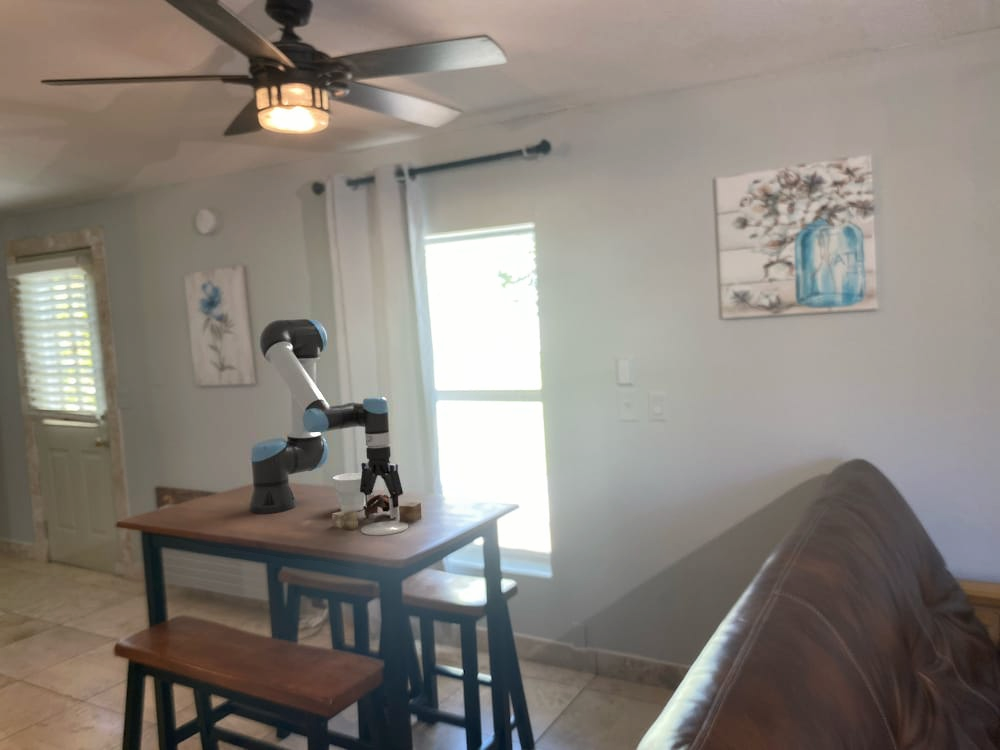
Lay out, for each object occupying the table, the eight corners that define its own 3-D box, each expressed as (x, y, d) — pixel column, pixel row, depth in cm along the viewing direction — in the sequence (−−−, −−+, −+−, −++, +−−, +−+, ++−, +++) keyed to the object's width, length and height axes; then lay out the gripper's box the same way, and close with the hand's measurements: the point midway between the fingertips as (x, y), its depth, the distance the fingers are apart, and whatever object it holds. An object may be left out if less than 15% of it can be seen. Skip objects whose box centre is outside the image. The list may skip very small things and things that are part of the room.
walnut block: (399, 521, 226) (398, 505, 225) (407, 517, 230) (406, 501, 230) (414, 522, 224) (413, 506, 224) (421, 518, 229) (420, 502, 228)
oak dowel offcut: (342, 529, 220) (341, 512, 220) (351, 525, 223) (350, 509, 223) (351, 530, 218) (350, 514, 217) (361, 527, 221) (360, 511, 221)
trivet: (351, 531, 216) (351, 530, 216) (384, 520, 228) (384, 519, 228) (385, 537, 208) (385, 536, 208) (418, 525, 220) (418, 524, 220)
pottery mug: (396, 522, 227) (382, 501, 225) (371, 534, 229) (356, 514, 227) (403, 503, 238) (389, 483, 236) (379, 515, 240) (365, 496, 238)
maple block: (332, 526, 224) (332, 513, 224) (349, 522, 228) (348, 509, 228) (340, 528, 221) (339, 515, 221) (356, 524, 226) (356, 511, 225)
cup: (346, 515, 237) (344, 481, 236) (327, 509, 246) (325, 476, 245) (379, 507, 245) (377, 475, 244) (360, 502, 254) (358, 470, 253)
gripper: (345, 446, 234) (349, 515, 235) (395, 449, 221) (400, 522, 223) (362, 442, 240) (366, 510, 241) (411, 445, 228) (416, 516, 229)
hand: (382, 515), depth 232 cm, fingers closed on pottery mug, 9 cm apart
